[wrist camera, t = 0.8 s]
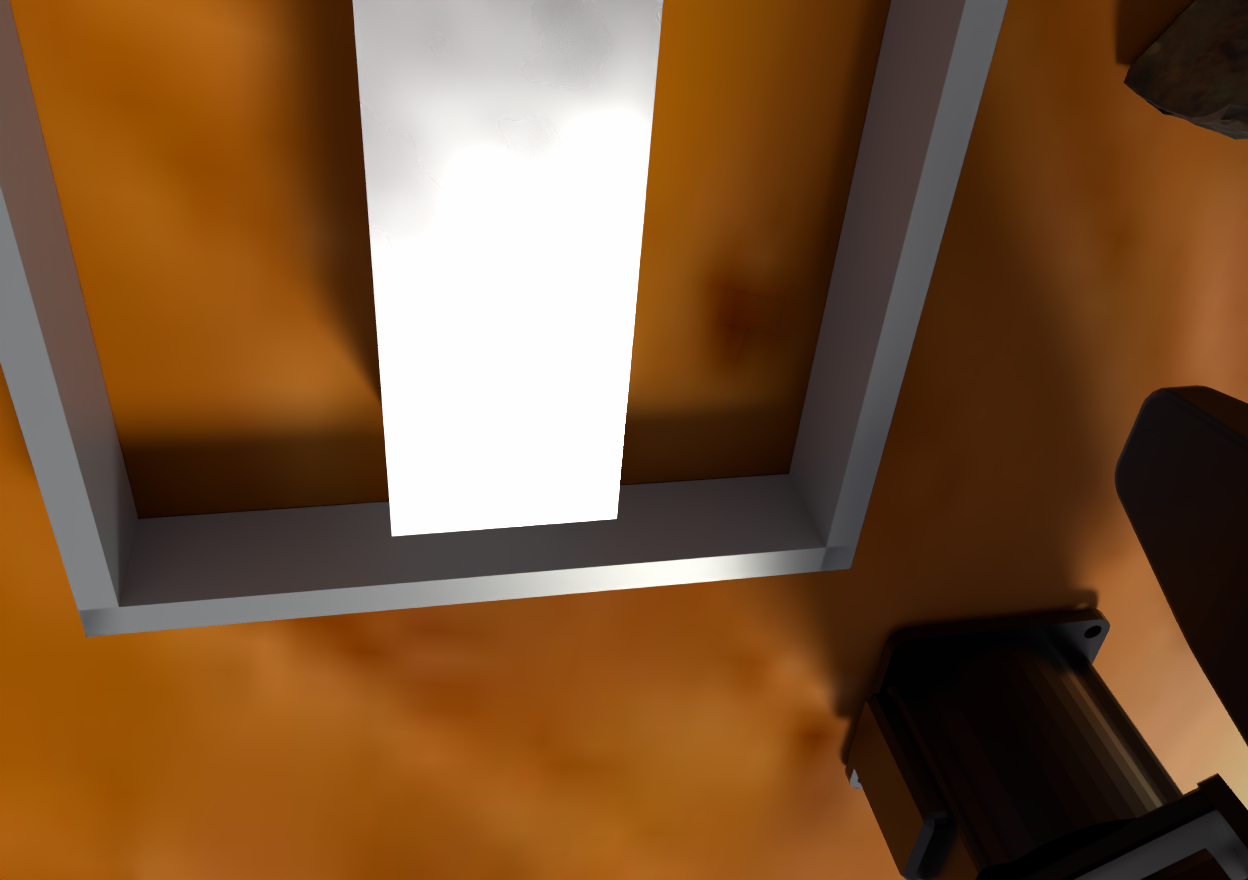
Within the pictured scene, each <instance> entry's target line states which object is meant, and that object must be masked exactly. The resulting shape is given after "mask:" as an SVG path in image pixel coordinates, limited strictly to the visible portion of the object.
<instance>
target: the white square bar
mask: <svg viewBox="0 0 1248 880" xmlns="http://www.w3.org/2000/svg"><path fill="white" fill-rule="evenodd" d="M662 8H663V0H353V13H354V27H355V40H356V54H357V67H358V81H359V95H360V108H361V122H362V135H363V149H364V162H365V176H366V190H367V203H368V217H369V230H370V244H371V257H372V271H373V285H374V298H375V312H376V325H377V339H378V353H379V366H380V380H381V393H382V407H383V420H384V434H385V448H386V461H387V475H388V488H389V502H390V515H391V529H392V536H401V535H413V534H426V533H439V532H451V531H464V530H476V529H489V528H502V527H514V526H527V525H540V524H552V523H565V522H577V521H590V520H603V519H615V518H616V516H617V505H618V494H619V483H620V472H621V461H622V450H623V439H624V428H625V417H626V406H627V395H628V384H629V373H630V362H631V351H632V340H633V329H634V318H635V307H636V296H637V285H638V274H639V262H640V251H641V240H642V229H643V218H644V207H645V196H646V185H647V174H648V163H649V152H650V141H651V130H652V119H653V108H654V97H655V86H656V75H657V64H658V53H659V42H660V31H661V19H662Z"/></svg>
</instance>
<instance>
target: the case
mask: <svg viewBox="0 0 1248 880" xmlns="http://www.w3.org/2000/svg"><path fill="white" fill-rule="evenodd" d="M1007 2H1008V0H891V3H890V8H889V12H888V17H887V22H886V26H885V31H884V36H883V40H882V45H881V50H880V54H879V59H878V63H877V68H876V73H875V77H874V82H873V87H872V91H871V96H870V101H869V105H868V110H867V114H866V119H865V124H864V128H863V133H862V138H861V142H860V147H859V152H858V156H857V161H856V165H855V170H854V175H853V179H852V184H851V189H850V193H849V198H848V202H847V207H846V212H845V216H844V221H843V226H842V230H841V235H840V240H839V244H838V249H837V253H836V258H835V263H834V267H833V272H832V277H831V281H830V286H829V291H828V295H827V300H826V304H825V309H824V314H823V318H822V323H821V328H820V332H819V337H818V342H817V346H816V351H815V355H814V360H813V365H812V369H811V374H810V379H809V383H808V388H807V393H806V397H805V402H804V406H803V411H802V416H801V420H800V425H799V430H798V434H797V439H796V444H795V448H794V453H793V457H792V462H791V467H790V471H789V474H781V475H767V476H752V477H738V478H723V479H709V480H694V481H680V482H666V483H651V484H637V485H622V486H619V494H618V505H617V516H616V518H615V519H603V520H590V521H577V522H565V523H552V524H540V525H527V526H514V527H502V528H489V529H476V530H464V531H451V532H439V533H426V534H413V535H401V536H392V529H391V515H390V502H377V503H362V504H348V505H334V506H319V507H305V508H290V509H276V510H261V511H247V512H232V513H218V514H204V515H189V516H175V517H160V518H146V519H138V515H137V511H136V507H135V503H134V499H133V495H132V491H131V487H130V483H129V479H128V475H127V471H126V467H125V463H124V459H123V455H122V451H121V447H120V443H119V439H118V435H117V431H116V427H115V423H114V419H113V415H112V411H111V407H110V403H109V399H108V395H107V391H106V387H105V383H104V379H103V375H102V371H101V367H100V363H99V359H98V355H97V351H96V347H95V343H94V339H93V335H92V331H91V327H90V323H89V319H88V315H87V311H86V307H85V303H84V299H83V295H82V291H81V287H80V283H79V278H78V274H77V270H76V266H75V262H74V258H73V254H72V250H71V246H70V242H69V238H68V234H67V230H66V226H65V222H64V218H63V214H62V210H61V206H60V202H59V198H58V194H57V190H56V186H55V182H54V178H53V174H52V170H51V166H50V162H49V158H48V154H47V150H46V146H45V142H44V138H43V134H42V130H41V126H40V122H39V118H38V114H37V110H36V106H35V102H34V98H33V94H32V90H31V86H30V82H29V78H28V74H27V70H26V66H25V62H24V58H23V54H22V50H21V46H20V42H19V38H18V34H17V30H16V26H15V22H14V17H13V13H12V9H11V5H10V1H9V0H0V363H1V366H2V369H3V372H4V376H5V379H6V382H7V385H8V388H9V392H10V395H11V398H12V401H13V404H14V408H15V411H16V414H17V417H18V420H19V423H20V427H21V430H22V433H23V436H24V439H25V443H26V446H27V449H28V452H29V455H30V459H31V462H32V465H33V468H34V471H35V474H36V478H37V481H38V484H39V487H40V490H41V494H42V497H43V500H44V503H45V506H46V510H47V513H48V516H49V519H50V522H51V526H52V529H53V532H54V535H55V538H56V541H57V545H58V548H59V551H60V554H61V557H62V561H63V564H64V567H65V570H66V573H67V577H68V580H69V583H70V586H71V589H72V592H73V596H74V599H75V602H76V605H77V608H78V612H79V615H80V618H81V621H82V624H83V628H84V631H85V634H86V637H91V636H102V635H114V634H125V633H136V632H147V631H158V630H170V629H181V628H192V627H203V626H214V625H226V624H237V623H248V622H259V621H270V620H282V619H293V618H304V617H315V616H326V615H338V614H349V613H360V612H371V611H382V610H394V609H405V608H416V607H427V606H438V605H450V604H461V603H472V602H483V601H494V600H506V599H517V598H528V597H539V596H550V595H562V594H573V593H584V592H595V591H606V590H618V589H629V588H640V587H651V586H662V585H674V584H685V583H696V582H707V581H718V580H730V579H741V578H752V577H763V576H774V575H786V574H797V573H808V572H819V571H830V570H842V569H850V568H851V565H852V561H853V558H854V554H855V550H856V547H857V543H858V540H859V536H860V532H861V529H862V525H863V522H864V518H865V514H866V511H867V507H868V504H869V500H870V496H871V493H872V489H873V486H874V482H875V478H876V475H877V471H878V467H879V464H880V460H881V457H882V453H883V449H884V446H885V442H886V439H887V435H888V431H889V428H890V424H891V421H892V417H893V413H894V410H895V406H896V403H897V399H898V395H899V392H900V388H901V385H902V381H903V377H904V374H905V370H906V367H907V363H908V359H909V356H910V352H911V349H912V345H913V341H914V338H915V334H916V330H917V327H918V323H919V320H920V316H921V312H922V309H923V305H924V302H925V298H926V294H927V291H928V287H929V284H930V280H931V276H932V273H933V269H934V266H935V262H936V258H937V255H938V251H939V248H940V244H941V240H942V237H943V233H944V230H945V226H946V222H947V219H948V215H949V212H950V208H951V204H952V201H953V197H954V193H955V190H956V186H957V183H958V179H959V175H960V172H961V168H962V165H963V161H964V157H965V154H966V150H967V147H968V143H969V139H970V136H971V132H972V129H973V125H974V121H975V118H976V114H977V111H978V107H979V103H980V100H981V96H982V93H983V89H984V85H985V82H986V78H987V75H988V71H989V67H990V64H991V60H992V56H993V53H994V49H995V46H996V42H997V38H998V35H999V31H1000V28H1001V24H1002V20H1003V17H1004V13H1005V10H1006V6H1007Z"/></svg>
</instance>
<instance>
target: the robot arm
mask: <svg viewBox="0 0 1248 880" xmlns="http://www.w3.org/2000/svg"><path fill="white" fill-rule="evenodd" d="M1115 485H1116V490H1117V494H1118V496H1119V499H1120V501H1121V503H1122V505H1123V507H1124V509H1125V512H1126V514H1127V516H1128V518H1129V520H1130V522H1131V524H1132V527H1133V529H1134V531H1135V533H1136V535H1137V537H1138V539H1139V542H1140V544H1141V546H1142V548H1143V550H1144V552H1145V554H1146V557H1147V559H1148V561H1149V563H1150V565H1151V567H1152V570H1153V572H1154V574H1155V576H1156V578H1157V580H1158V582H1159V585H1160V587H1161V589H1162V591H1163V593H1164V595H1165V597H1166V600H1167V602H1168V604H1169V606H1170V608H1171V610H1172V612H1173V615H1174V617H1175V619H1176V621H1177V623H1178V625H1179V627H1180V629H1181V631H1182V633H1183V635H1184V637H1185V639H1186V641H1187V643H1188V645H1189V647H1190V649H1191V651H1192V652H1193V654H1194V656H1195V658H1196V659H1197V661H1198V663H1199V665H1200V667H1201V668H1202V670H1203V672H1204V674H1205V675H1206V677H1207V679H1208V680H1209V682H1210V684H1211V685H1212V687H1213V689H1214V690H1215V692H1216V694H1217V695H1218V697H1219V699H1220V700H1221V702H1222V704H1223V705H1224V707H1225V709H1226V710H1227V712H1228V714H1229V716H1230V717H1231V719H1232V721H1233V722H1234V724H1235V726H1236V727H1237V729H1238V731H1239V732H1240V734H1241V736H1242V737H1243V739H1244V741H1245V742H1246V744H1247V746H1248V403H1245V402H1243V401H1241V400H1238V399H1236V398H1233V397H1231V396H1229V395H1226V394H1224V393H1221V392H1219V391H1217V390H1214V389H1212V388H1209V387H1206V386H1198V385H1196V386H1181V387H1167V388H1161V389H1158V390H1156V391H1153V392H1152V393H1151V394H1150V395H1149V396H1148V397H1147V398H1146V399H1145V401H1144V403H1143V404H1142V407H1141V409H1140V411H1139V413H1138V416H1137V418H1136V420H1135V423H1134V425H1133V427H1132V430H1131V432H1130V434H1129V436H1128V439H1127V441H1126V443H1125V446H1124V448H1123V450H1122V453H1121V455H1120V457H1119V459H1118V462H1117V465H1116V470H1115ZM1109 628H1110V624H1109V622H1108V620H1107V619H1106V618H1105V616H1104V615H1103V614H1102V612H1101V611H1099V610H1097V609H1085V610H1075V611H1066V612H1056V613H1046V614H1036V615H1027V616H1017V617H1007V618H997V619H987V620H978V621H968V622H958V623H948V624H939V625H929V626H919V627H909V628H904V629H900V630H899V631H897V632H895V633H893V634H892V635H891V636H890V637H889V638H888V640H887V642H886V645H885V648H884V651H883V654H882V657H881V660H880V663H879V666H878V669H877V673H876V676H875V679H874V682H873V685H872V688H871V691H870V694H869V697H868V699H867V700H866V702H865V704H864V708H863V711H862V714H861V717H860V720H859V723H858V726H857V729H856V732H855V736H854V739H853V742H852V745H851V748H850V751H849V759H848V763H847V766H846V769H845V773H846V776H847V778H848V780H849V783H850V785H851V786H852V787H854V788H857V789H863V790H864V792H865V795H866V797H867V799H868V801H869V804H870V806H871V808H872V811H873V813H874V815H875V818H876V820H877V822H878V824H879V827H880V829H881V831H882V834H883V836H884V838H885V840H886V843H887V845H888V847H889V850H890V852H891V854H892V856H893V859H894V861H895V863H896V866H897V868H898V870H899V873H900V874H901V875H902V876H903V877H904V878H905V879H906V880H1248V810H1247V809H1246V807H1245V806H1244V805H1243V804H1242V802H1241V801H1240V800H1239V799H1238V797H1237V796H1236V795H1235V794H1234V792H1233V791H1232V790H1231V789H1230V788H1229V786H1228V785H1227V784H1226V783H1225V781H1224V780H1223V779H1222V778H1221V776H1220V775H1219V774H1218V773H1217V774H1215V775H1213V776H1211V777H1209V778H1207V779H1205V780H1203V781H1201V782H1199V783H1197V785H1198V788H1196V789H1194V790H1192V791H1190V792H1188V793H1186V794H1184V795H1183V793H1182V792H1181V791H1180V789H1179V788H1178V786H1177V785H1176V783H1175V782H1174V781H1173V779H1172V778H1171V776H1170V775H1169V773H1168V772H1167V771H1166V769H1165V768H1164V766H1163V765H1162V763H1161V762H1160V761H1159V759H1158V758H1157V756H1156V755H1155V753H1154V752H1153V751H1152V749H1151V748H1150V746H1149V745H1148V743H1147V742H1146V741H1145V739H1144V738H1143V736H1142V735H1141V734H1140V732H1139V731H1138V729H1137V728H1136V726H1135V725H1134V724H1133V722H1132V721H1131V719H1130V718H1129V716H1128V715H1127V714H1126V712H1125V711H1124V709H1123V708H1122V706H1121V705H1120V704H1119V702H1118V701H1117V699H1116V698H1115V696H1114V695H1113V694H1112V692H1111V691H1110V689H1109V688H1108V686H1107V685H1106V684H1105V682H1104V681H1103V679H1102V678H1101V676H1100V675H1099V674H1098V672H1097V671H1096V669H1095V668H1094V666H1093V665H1092V663H1093V661H1094V659H1095V657H1096V655H1097V653H1098V651H1099V649H1100V647H1101V645H1102V643H1103V641H1104V639H1105V637H1106V635H1107V633H1108V631H1109Z"/></svg>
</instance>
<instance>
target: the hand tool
mask: <svg viewBox="0 0 1248 880" xmlns="http://www.w3.org/2000/svg"><path fill="white" fill-rule="evenodd" d="M1124 83H1125V84H1126V85H1127V86H1128V87H1129V88H1131V89H1132V90H1133V91H1134V92H1135V93H1136V94H1138V95H1139V96H1141V97H1142V98H1143V99H1145V100H1146V101H1147V102H1148V103H1150V104H1151V105H1152V106H1154V107H1155V108H1157V109H1158V110H1159V111H1161V112H1162V113H1163V114H1165V115H1171V116H1175V117H1179V118H1182V119H1185V120H1187V121H1189V122H1191V123H1193V124H1194V125H1197V126H1200V127H1203V128H1206V129H1209V130H1212V131H1215V132H1218V133H1221V134H1223V135H1226V136H1228V137H1231V138H1233V139H1248V0H1195V1H1194V2H1193V3H1192V4H1191V5H1190V6H1189V7H1188V8H1187V9H1186V10H1185V11H1184V12H1182V13H1181V14H1180V15H1179V16H1178V17H1177V18H1176V19H1175V20H1174V22H1173V23H1172V24H1171V25H1170V26H1169V27H1168V28H1167V29H1166V30H1165V31H1164V32H1163V33H1162V35H1161V36H1160V37H1159V38H1158V39H1157V40H1156V41H1155V42H1154V43H1153V44H1152V45H1151V46H1150V47H1149V48H1148V49H1147V50H1146V51H1145V52H1144V53H1143V54H1142V55H1141V56H1140V57H1139V58H1138V59H1137V60H1136V61H1135V62H1134V63H1133V64H1132V66H1131V67H1130V69H1129V70H1128V73H1127V75H1126V78H1125V81H1124Z"/></svg>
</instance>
